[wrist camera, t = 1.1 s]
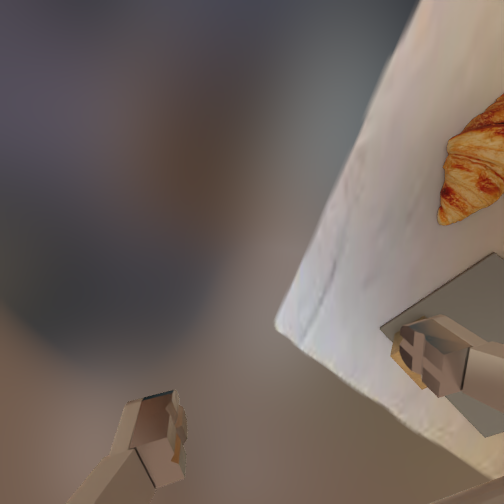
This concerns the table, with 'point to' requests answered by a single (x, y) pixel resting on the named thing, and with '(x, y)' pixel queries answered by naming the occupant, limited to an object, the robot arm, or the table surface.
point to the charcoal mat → (467, 325)
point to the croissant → (474, 166)
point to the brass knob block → (398, 359)
